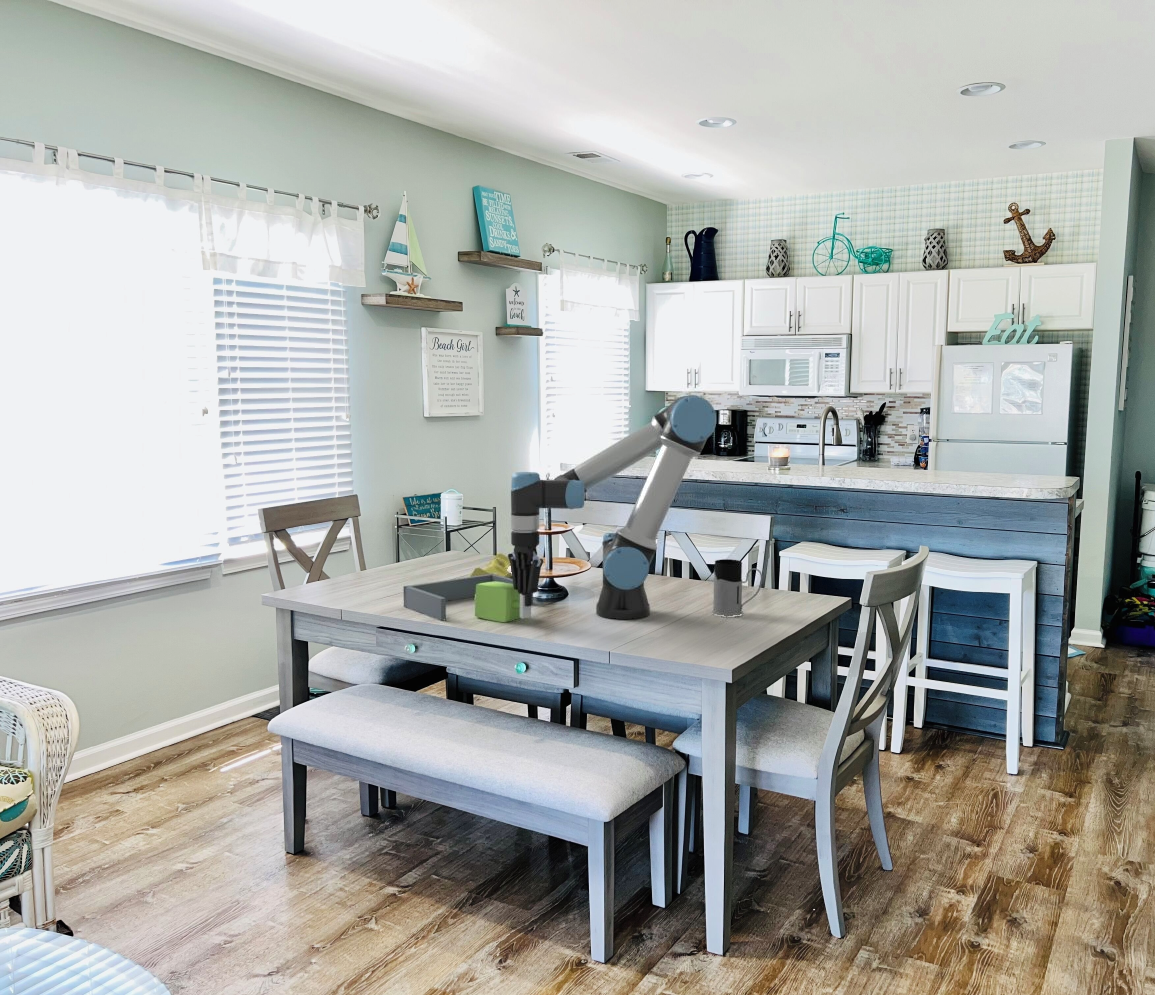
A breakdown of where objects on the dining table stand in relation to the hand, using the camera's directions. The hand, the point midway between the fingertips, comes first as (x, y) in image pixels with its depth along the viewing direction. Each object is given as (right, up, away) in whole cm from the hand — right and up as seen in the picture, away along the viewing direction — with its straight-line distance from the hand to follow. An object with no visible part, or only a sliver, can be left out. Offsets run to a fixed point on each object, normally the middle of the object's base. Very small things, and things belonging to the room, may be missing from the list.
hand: (525, 617), depth 252 cm
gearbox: (-6, -1, +8) cm, 10 cm away
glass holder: (+59, -1, +12) cm, 60 cm away
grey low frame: (-18, +1, +22) cm, 28 cm away
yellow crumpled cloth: (-13, +4, +60) cm, 62 cm away
